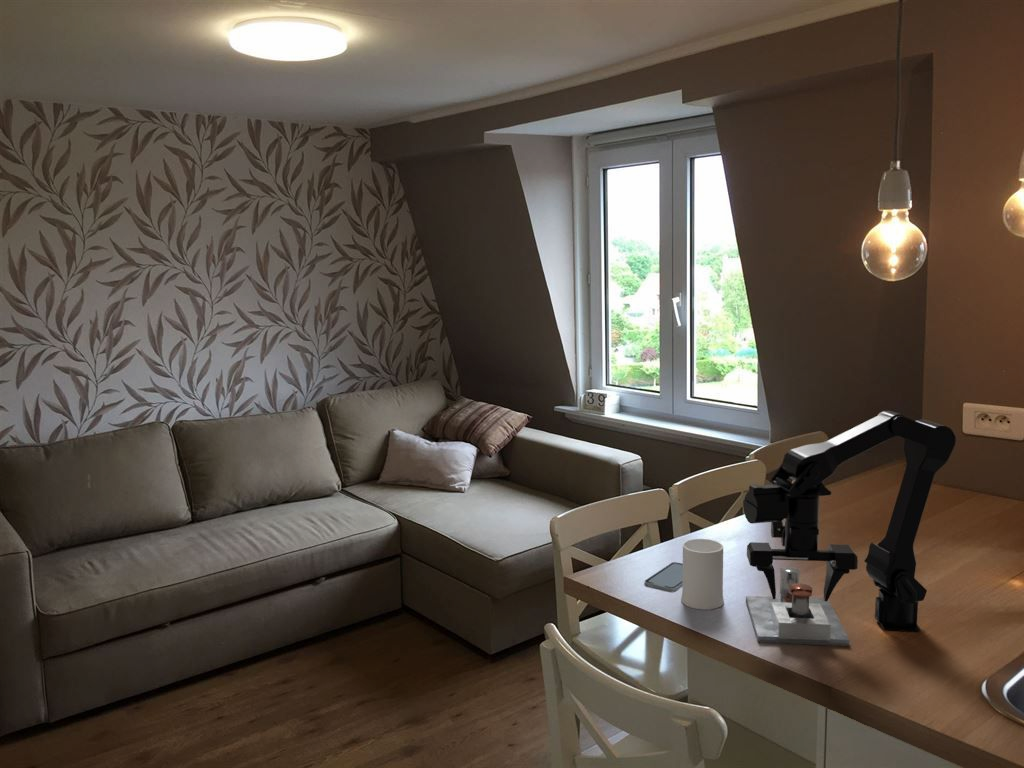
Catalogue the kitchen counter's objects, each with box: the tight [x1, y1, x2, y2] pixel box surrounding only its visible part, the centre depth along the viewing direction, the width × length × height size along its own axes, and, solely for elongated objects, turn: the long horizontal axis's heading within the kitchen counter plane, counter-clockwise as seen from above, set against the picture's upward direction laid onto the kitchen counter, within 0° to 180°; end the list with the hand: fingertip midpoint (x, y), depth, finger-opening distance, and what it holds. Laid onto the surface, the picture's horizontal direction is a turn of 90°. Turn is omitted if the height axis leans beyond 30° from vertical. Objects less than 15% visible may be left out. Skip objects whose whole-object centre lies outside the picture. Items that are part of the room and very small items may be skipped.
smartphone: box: [644, 561, 683, 592], centre depth 186 cm, size 7×1×15 cm
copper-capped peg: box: [789, 582, 813, 618], centre depth 157 cm, size 4×4×8 cm
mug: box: [680, 538, 725, 611], centre depth 174 cm, size 12×8×12 cm
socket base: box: [745, 566, 850, 647], centre depth 162 cm, size 16×18×8 cm
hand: (799, 599), depth 157 cm, fingers open, 9 cm apart
